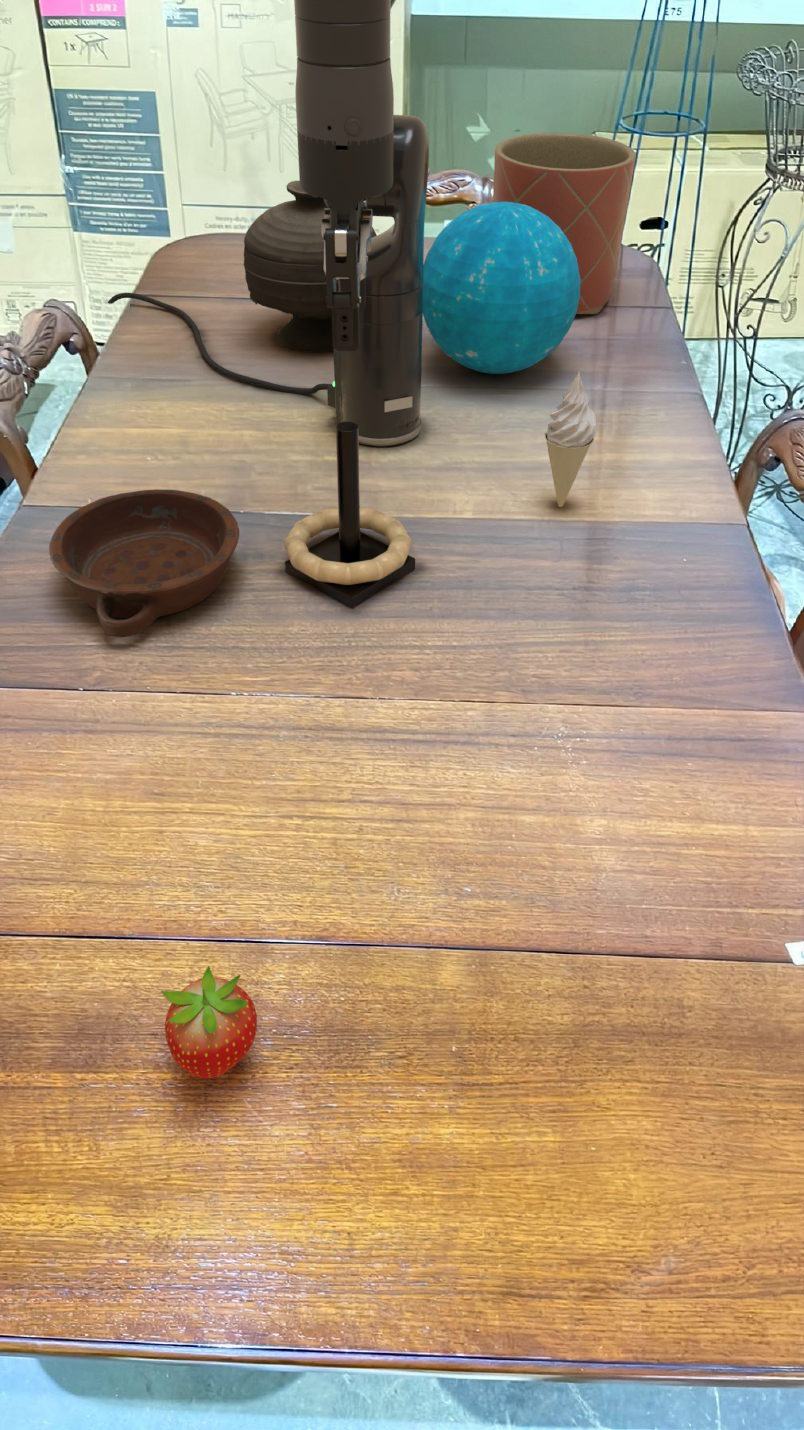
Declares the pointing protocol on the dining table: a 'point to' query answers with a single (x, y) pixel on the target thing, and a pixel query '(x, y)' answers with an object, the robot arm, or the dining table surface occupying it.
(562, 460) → the ice cream cone
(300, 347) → the pot
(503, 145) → the planter
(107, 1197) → the dining table surface
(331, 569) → the ring
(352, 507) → the post
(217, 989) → the fruit
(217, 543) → the dish
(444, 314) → the decorative sphere
